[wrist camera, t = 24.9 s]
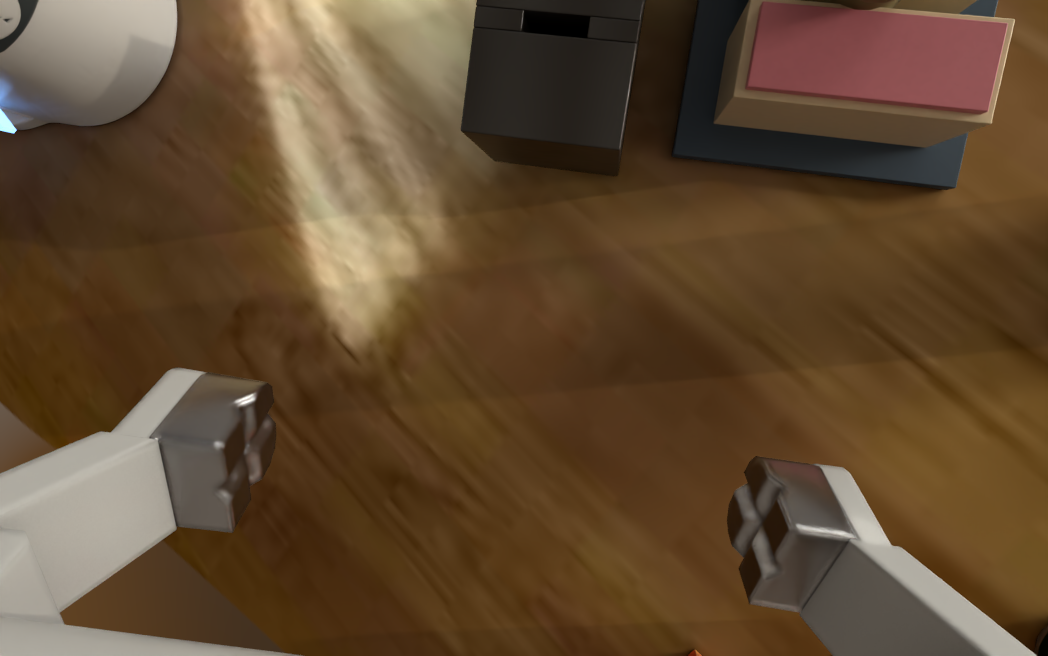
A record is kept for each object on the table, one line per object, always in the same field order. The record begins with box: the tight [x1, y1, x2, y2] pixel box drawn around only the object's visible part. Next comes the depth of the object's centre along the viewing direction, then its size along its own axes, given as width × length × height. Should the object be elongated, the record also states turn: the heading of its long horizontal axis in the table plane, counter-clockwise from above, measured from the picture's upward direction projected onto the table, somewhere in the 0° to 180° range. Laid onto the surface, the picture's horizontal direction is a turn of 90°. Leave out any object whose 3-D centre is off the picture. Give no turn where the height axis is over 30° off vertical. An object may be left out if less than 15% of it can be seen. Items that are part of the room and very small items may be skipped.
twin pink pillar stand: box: [672, 0, 1015, 190], centre depth 32 cm, size 16×16×8 cm
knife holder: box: [461, 0, 646, 176], centre depth 34 cm, size 8×11×9 cm
